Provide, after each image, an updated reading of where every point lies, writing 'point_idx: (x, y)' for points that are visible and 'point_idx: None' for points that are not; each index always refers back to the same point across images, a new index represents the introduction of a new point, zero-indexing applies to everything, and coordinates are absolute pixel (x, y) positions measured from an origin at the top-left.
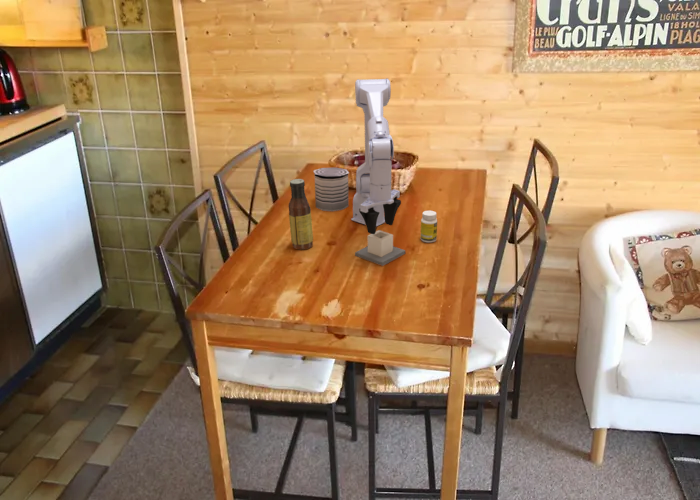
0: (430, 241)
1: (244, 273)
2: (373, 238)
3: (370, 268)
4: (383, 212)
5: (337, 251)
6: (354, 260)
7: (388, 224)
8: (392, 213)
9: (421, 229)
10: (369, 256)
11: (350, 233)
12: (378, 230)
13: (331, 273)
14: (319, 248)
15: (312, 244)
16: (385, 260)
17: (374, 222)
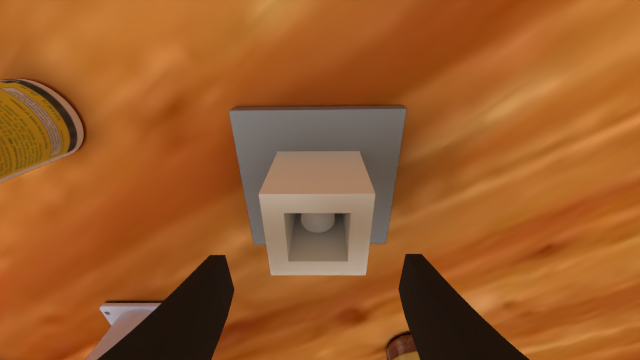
0: (46, 88)
1: (617, 345)
2: (367, 241)
3: (449, 131)
4: (106, 341)
5: (388, 283)
6: (416, 215)
7: (228, 273)
8: (163, 356)
9: (25, 158)
10: (385, 189)
11: (265, 319)
12: (277, 274)
13: (550, 210)
14: (399, 319)
15: (404, 340)
16: (380, 113)
17: (512, 354)
